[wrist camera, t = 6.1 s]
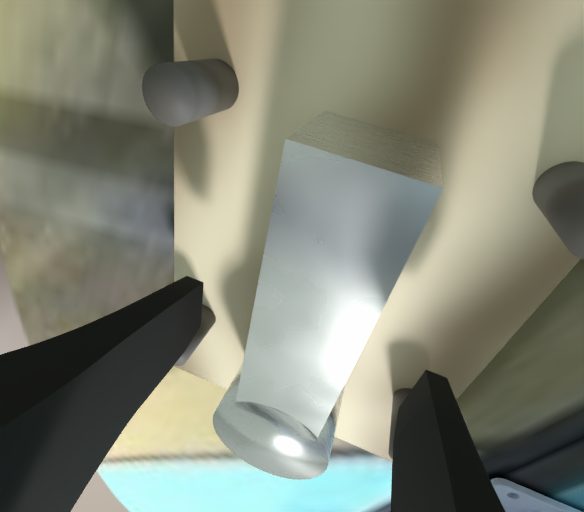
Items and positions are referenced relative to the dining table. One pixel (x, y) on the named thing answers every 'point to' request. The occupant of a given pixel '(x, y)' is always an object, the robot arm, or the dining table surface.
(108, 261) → the dining table surface
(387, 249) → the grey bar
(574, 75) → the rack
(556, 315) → the dining table surface
